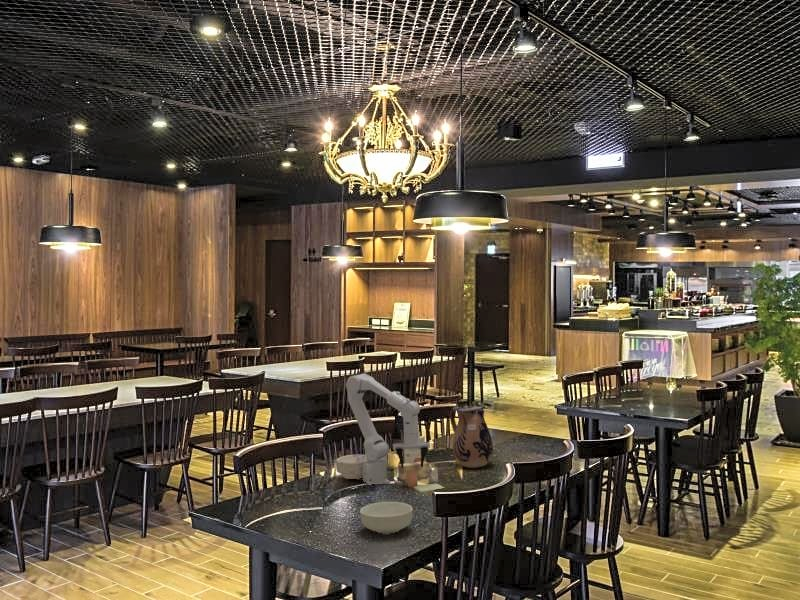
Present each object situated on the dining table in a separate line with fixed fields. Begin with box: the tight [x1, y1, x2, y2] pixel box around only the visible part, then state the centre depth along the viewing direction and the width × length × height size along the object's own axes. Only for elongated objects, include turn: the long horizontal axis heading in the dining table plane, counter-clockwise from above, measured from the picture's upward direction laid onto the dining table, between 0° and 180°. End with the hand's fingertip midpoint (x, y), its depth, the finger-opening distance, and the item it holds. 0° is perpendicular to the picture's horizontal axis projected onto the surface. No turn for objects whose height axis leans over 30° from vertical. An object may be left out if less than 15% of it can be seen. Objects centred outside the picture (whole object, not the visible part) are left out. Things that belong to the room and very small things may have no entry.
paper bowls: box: [335, 453, 368, 480], centre depth 297 cm, size 15×15×8 cm
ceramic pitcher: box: [449, 406, 494, 469], centre depth 312 cm, size 18×21×25 cm
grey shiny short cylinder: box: [427, 466, 439, 485], centre depth 285 cm, size 4×4×6 cm
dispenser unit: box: [396, 460, 430, 482], centre depth 293 cm, size 13×5×6 cm, turn 112°
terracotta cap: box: [406, 469, 419, 488], centre depth 282 cm, size 4×4×6 cm
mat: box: [413, 483, 445, 494], centre depth 277 cm, size 10×7×1 cm
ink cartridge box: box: [403, 430, 427, 464], centre depth 319 cm, size 9×5×15 cm, turn 62°
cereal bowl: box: [359, 501, 414, 535], centre depth 230 cm, size 17×17×7 cm
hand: (412, 467), depth 282 cm, fingers open, 7 cm apart
